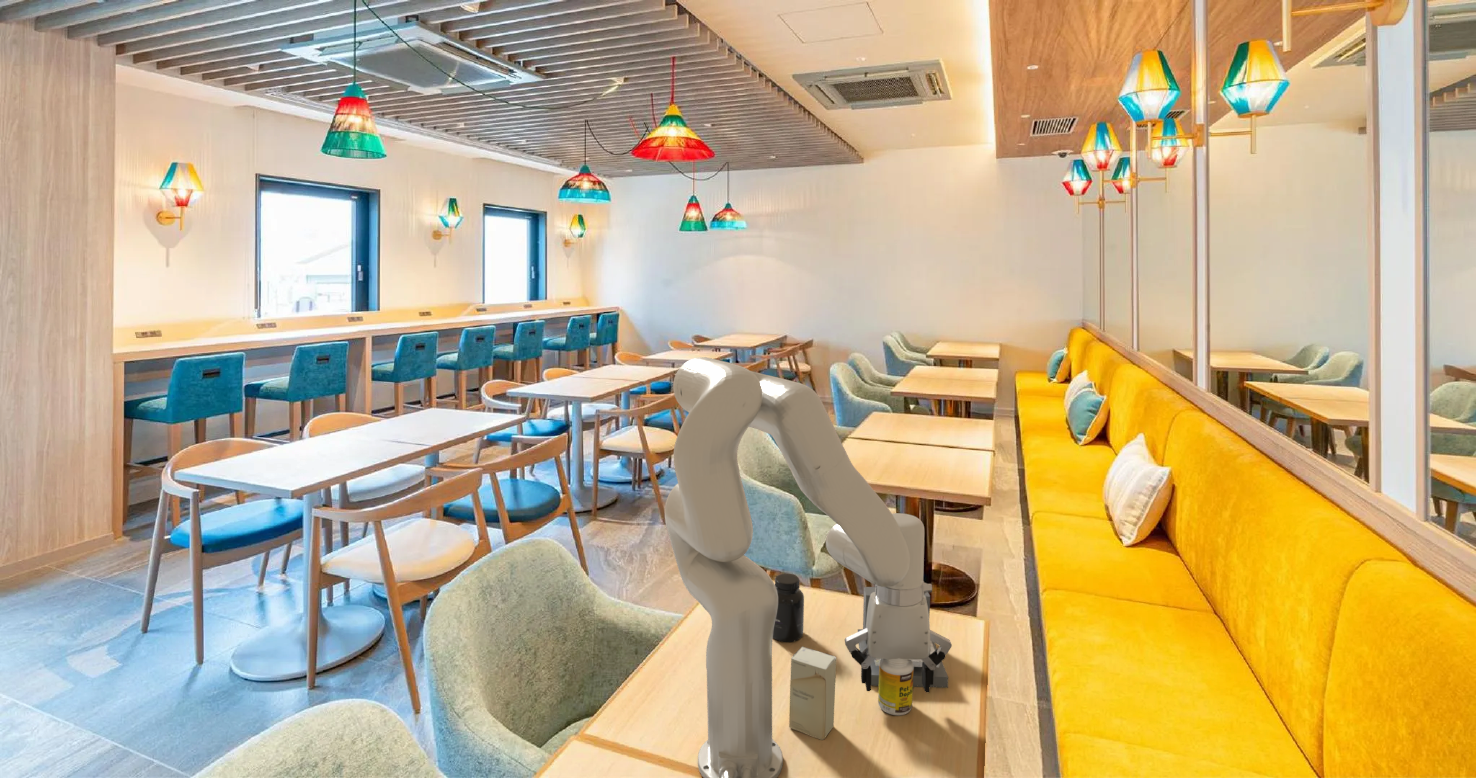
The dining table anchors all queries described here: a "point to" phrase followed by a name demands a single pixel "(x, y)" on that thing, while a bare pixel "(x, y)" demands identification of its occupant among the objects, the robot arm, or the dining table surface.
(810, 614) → the dining table surface
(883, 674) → the supplement bottle
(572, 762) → the dining table surface
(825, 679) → the skincare box
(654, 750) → the dining table surface
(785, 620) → the supplement bottle
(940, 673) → the scale base
